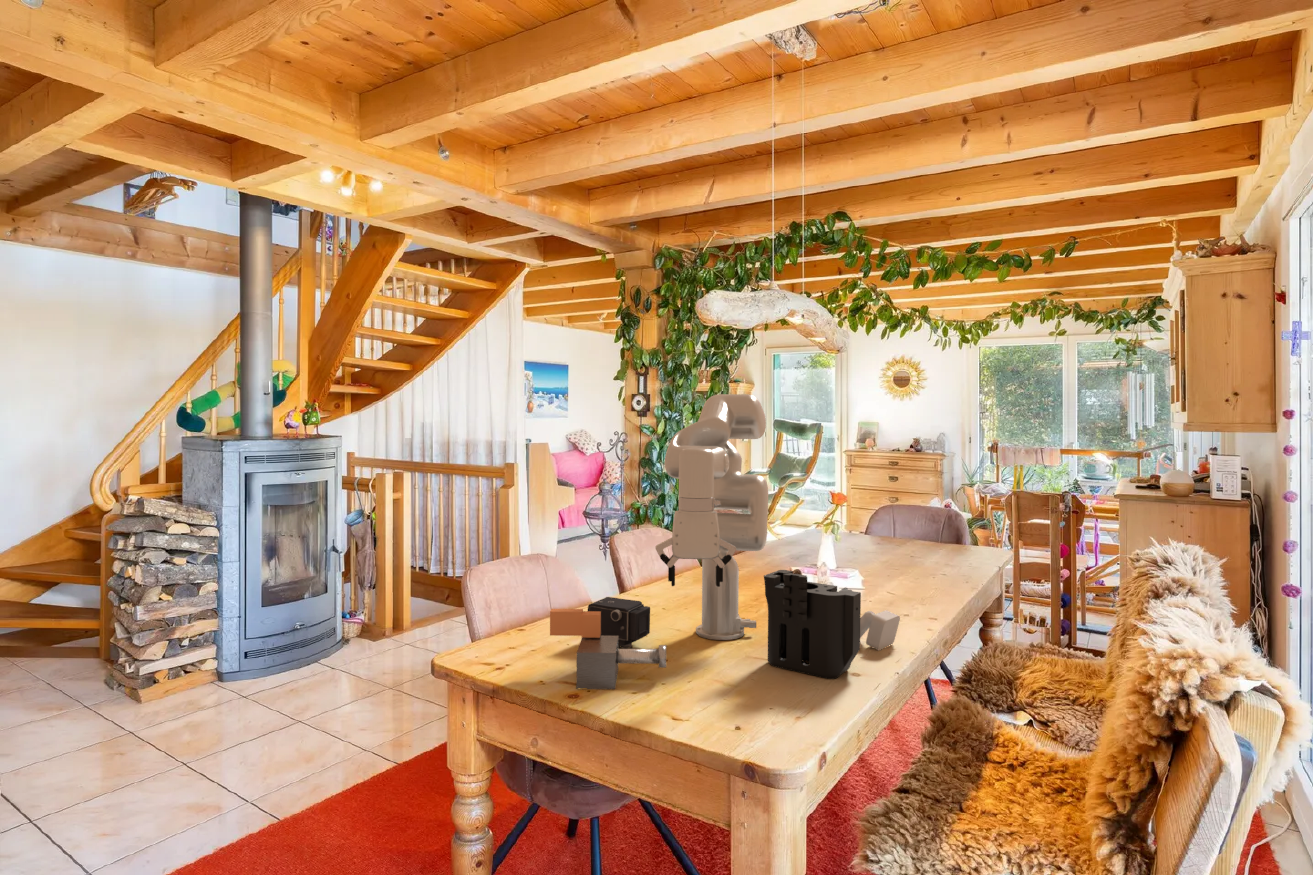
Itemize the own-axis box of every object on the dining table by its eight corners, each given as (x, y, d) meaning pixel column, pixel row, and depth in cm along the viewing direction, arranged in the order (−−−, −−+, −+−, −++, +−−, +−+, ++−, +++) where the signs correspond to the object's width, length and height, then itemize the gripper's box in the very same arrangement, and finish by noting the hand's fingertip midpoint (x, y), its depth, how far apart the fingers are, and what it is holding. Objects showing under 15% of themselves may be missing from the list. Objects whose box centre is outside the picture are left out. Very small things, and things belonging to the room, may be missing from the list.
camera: (583, 650, 180) (636, 654, 173) (579, 604, 181) (632, 606, 174) (606, 639, 190) (657, 641, 183) (603, 595, 190) (653, 596, 183)
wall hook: (856, 633, 191) (864, 597, 189) (891, 651, 184) (901, 614, 182) (839, 639, 185) (848, 603, 183) (875, 658, 178) (885, 621, 176)
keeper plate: (600, 633, 164) (600, 608, 164) (599, 637, 161) (599, 612, 161) (551, 633, 164) (551, 608, 164) (549, 637, 161) (549, 611, 161)
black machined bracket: (780, 654, 176) (781, 562, 175) (864, 672, 163) (865, 573, 163) (756, 667, 166) (757, 570, 166) (843, 687, 154) (845, 583, 153)
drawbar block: (618, 669, 164) (618, 635, 164) (615, 689, 152) (615, 652, 152) (582, 669, 164) (582, 635, 164) (576, 688, 152) (576, 652, 152)
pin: (666, 663, 160) (666, 642, 160) (666, 670, 156) (666, 649, 155) (594, 662, 160) (594, 641, 160) (592, 669, 156) (592, 648, 155)
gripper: (734, 503, 161) (734, 581, 161) (655, 503, 161) (655, 580, 161) (738, 507, 153) (737, 589, 154) (655, 507, 153) (654, 588, 154)
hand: (695, 585), depth 157 cm, fingers open, 9 cm apart
